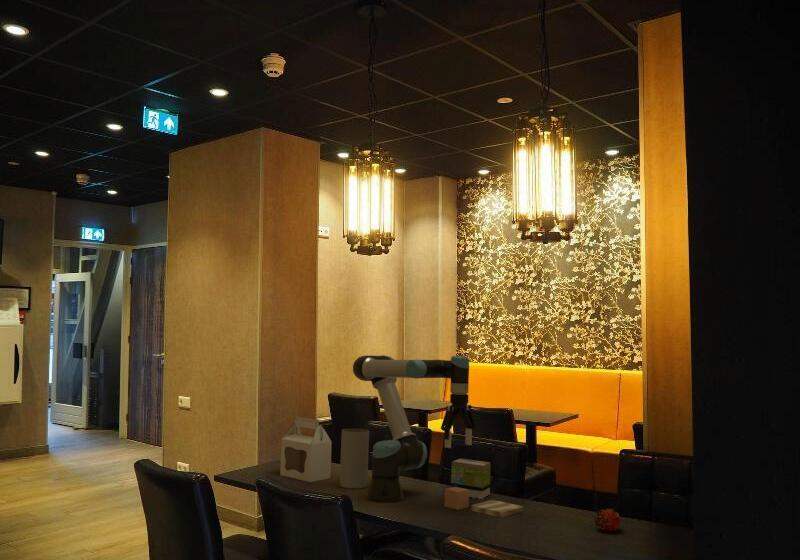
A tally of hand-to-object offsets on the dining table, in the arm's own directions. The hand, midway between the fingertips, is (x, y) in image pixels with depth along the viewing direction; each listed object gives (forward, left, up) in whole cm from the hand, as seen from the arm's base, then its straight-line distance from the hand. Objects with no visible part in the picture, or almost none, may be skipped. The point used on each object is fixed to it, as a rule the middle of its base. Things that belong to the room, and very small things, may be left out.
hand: (458, 446), depth 275 cm
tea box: (-9, +21, -24) cm, 33 cm away
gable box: (-85, -10, -24) cm, 89 cm away
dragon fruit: (+58, +15, -24) cm, 65 cm away
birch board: (+15, +7, -24) cm, 29 cm away
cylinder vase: (-55, -6, -24) cm, 61 cm away
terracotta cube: (0, 0, -24) cm, 24 cm away
